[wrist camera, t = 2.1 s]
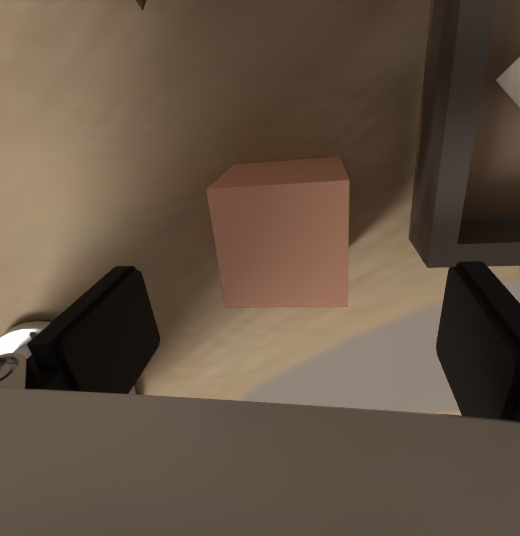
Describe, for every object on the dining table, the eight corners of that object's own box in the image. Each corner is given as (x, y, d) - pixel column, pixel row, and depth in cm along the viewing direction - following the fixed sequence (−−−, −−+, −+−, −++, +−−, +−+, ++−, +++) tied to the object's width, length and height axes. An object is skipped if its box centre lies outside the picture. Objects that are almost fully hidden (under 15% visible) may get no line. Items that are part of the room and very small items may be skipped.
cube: (339, 255, 22) (347, 306, 17) (245, 257, 23) (225, 307, 18) (339, 156, 19) (349, 180, 14) (234, 164, 20) (206, 189, 15)
